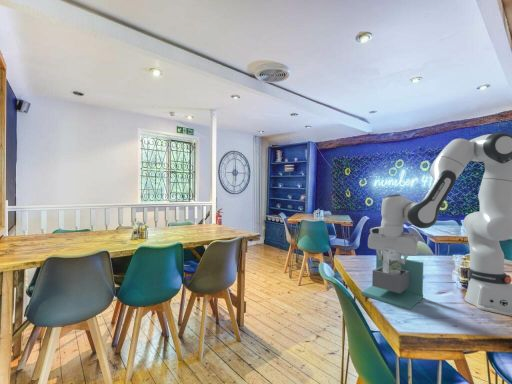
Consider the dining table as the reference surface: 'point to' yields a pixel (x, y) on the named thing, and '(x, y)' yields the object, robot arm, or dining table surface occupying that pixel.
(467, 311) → the dining table surface
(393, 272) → the syrup box
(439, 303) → the dining table surface
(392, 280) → the cup bracket
